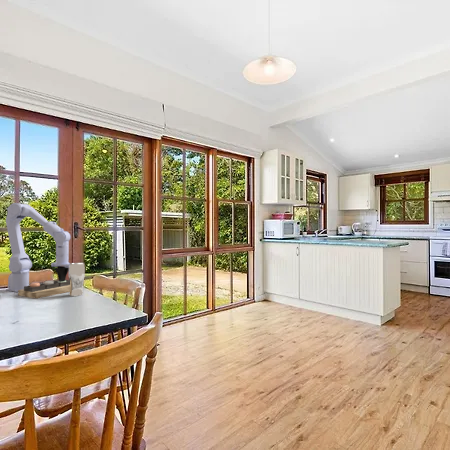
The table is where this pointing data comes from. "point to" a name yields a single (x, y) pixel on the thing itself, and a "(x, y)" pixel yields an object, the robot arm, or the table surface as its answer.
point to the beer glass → (76, 278)
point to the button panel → (45, 290)
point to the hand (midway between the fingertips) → (62, 281)
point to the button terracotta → (34, 284)
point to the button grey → (48, 282)
